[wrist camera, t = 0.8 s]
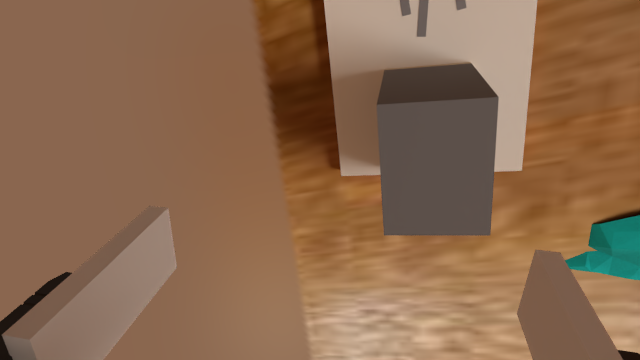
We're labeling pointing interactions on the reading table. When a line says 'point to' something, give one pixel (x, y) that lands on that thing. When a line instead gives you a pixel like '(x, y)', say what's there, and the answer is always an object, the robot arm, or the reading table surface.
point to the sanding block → (437, 150)
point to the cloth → (612, 249)
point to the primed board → (427, 63)
